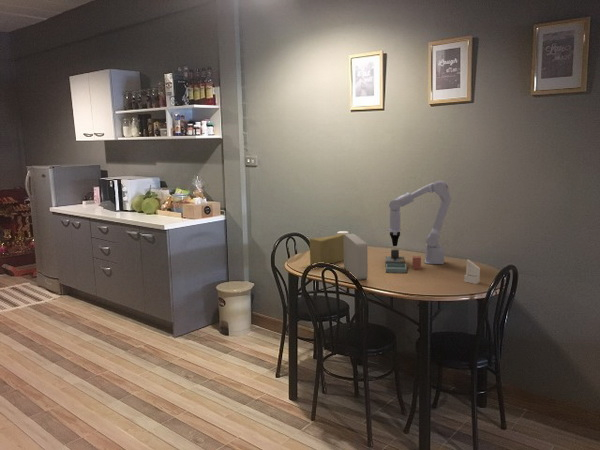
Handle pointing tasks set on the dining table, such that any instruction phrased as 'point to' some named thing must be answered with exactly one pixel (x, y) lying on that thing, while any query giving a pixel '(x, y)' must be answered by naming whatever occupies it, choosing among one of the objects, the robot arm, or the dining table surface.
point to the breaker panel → (394, 260)
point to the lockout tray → (396, 268)
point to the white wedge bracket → (472, 273)
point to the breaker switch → (394, 253)
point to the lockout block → (416, 262)
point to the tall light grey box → (355, 256)
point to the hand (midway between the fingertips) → (394, 245)
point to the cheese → (327, 249)
